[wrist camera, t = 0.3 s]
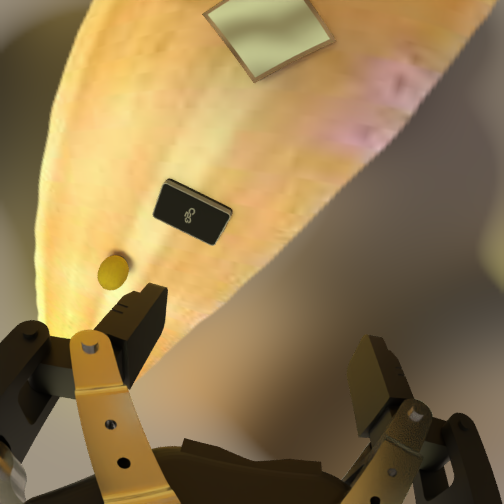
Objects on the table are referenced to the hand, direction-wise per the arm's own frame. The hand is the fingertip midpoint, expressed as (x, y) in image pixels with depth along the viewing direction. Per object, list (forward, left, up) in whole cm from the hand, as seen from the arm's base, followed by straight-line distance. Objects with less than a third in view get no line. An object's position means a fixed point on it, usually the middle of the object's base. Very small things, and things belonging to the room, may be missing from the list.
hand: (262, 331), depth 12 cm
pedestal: (-12, +4, -30) cm, 32 cm away
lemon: (+5, -40, -30) cm, 50 cm away
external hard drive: (+4, -20, -31) cm, 37 cm away
